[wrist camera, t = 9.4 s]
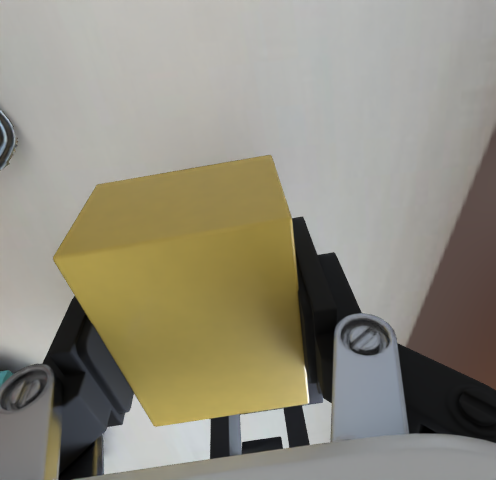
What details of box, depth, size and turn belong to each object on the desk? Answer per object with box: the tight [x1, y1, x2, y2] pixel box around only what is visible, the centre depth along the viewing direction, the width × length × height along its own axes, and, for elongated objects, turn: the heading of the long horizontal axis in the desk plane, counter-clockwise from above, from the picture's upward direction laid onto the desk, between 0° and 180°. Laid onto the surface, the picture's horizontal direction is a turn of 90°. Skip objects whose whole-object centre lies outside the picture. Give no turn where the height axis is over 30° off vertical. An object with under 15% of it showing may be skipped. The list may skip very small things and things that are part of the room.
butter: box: [53, 155, 309, 427], centre depth 11 cm, size 5×7×3 cm
